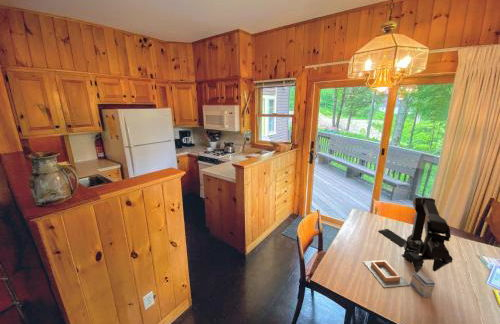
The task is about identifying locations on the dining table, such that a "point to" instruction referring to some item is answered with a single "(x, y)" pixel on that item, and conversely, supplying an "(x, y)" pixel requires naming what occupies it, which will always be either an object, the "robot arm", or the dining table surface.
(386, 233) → the cell phone
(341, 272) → the dining table surface
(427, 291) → the medicine box
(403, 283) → the end holder
